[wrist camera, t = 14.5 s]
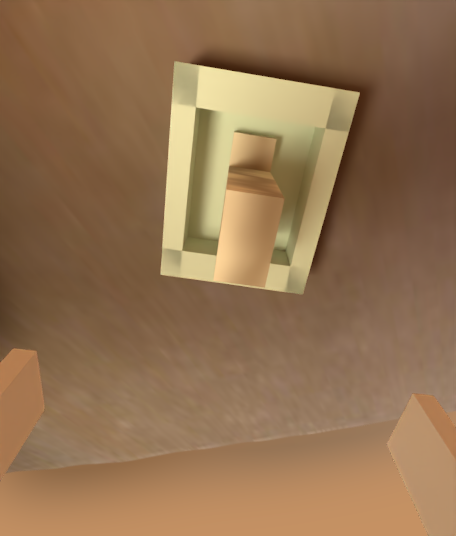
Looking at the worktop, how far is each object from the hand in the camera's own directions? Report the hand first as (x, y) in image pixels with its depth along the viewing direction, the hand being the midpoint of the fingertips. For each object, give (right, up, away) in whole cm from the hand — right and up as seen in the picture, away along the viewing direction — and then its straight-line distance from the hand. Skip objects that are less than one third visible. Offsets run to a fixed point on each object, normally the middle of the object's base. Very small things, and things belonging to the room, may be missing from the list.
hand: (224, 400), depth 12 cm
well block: (+2, +14, +23) cm, 27 cm away
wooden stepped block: (+2, +13, +22) cm, 26 cm away
